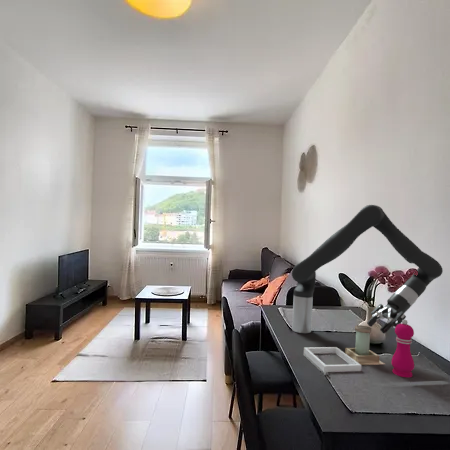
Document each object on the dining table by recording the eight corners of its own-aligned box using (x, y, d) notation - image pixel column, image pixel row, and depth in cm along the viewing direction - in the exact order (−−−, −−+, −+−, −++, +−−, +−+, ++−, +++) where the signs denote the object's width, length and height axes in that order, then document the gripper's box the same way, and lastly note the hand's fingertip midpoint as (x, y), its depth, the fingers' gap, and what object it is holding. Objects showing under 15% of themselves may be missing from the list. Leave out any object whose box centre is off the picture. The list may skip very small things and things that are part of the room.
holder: (339, 355, 139) (340, 346, 139) (366, 354, 141) (367, 346, 141) (355, 367, 127) (356, 358, 127) (385, 366, 129) (385, 357, 129)
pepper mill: (401, 381, 117) (404, 322, 117) (386, 372, 124) (388, 317, 124) (418, 380, 119) (421, 322, 119) (402, 371, 126) (405, 316, 126)
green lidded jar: (350, 355, 137) (351, 325, 137) (364, 355, 138) (365, 325, 138) (358, 361, 131) (360, 329, 131) (373, 361, 132) (374, 329, 132)
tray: (303, 355, 138) (303, 347, 138) (336, 354, 140) (336, 347, 140) (324, 374, 120) (324, 366, 120) (361, 373, 122) (361, 365, 122)
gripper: (385, 289, 144) (359, 316, 142) (409, 296, 130) (380, 327, 128) (396, 302, 145) (370, 329, 143) (421, 310, 131) (392, 341, 129)
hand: (375, 328), depth 135 cm, fingers open, 8 cm apart
